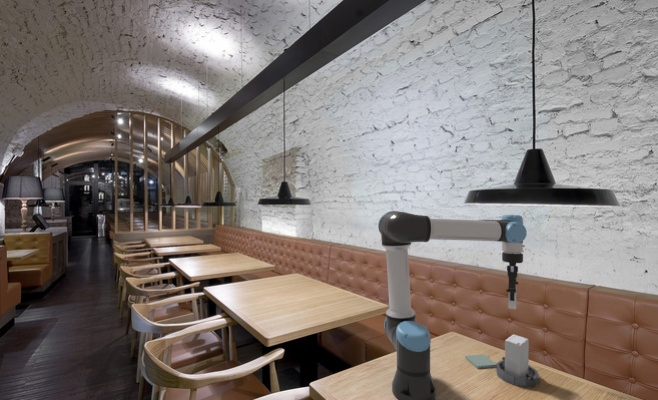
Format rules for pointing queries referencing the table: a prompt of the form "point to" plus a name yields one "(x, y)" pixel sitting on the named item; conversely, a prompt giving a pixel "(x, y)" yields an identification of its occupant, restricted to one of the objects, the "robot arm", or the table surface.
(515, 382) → the locking ring
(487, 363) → the plate
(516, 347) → the skincare box
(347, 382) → the table surface
